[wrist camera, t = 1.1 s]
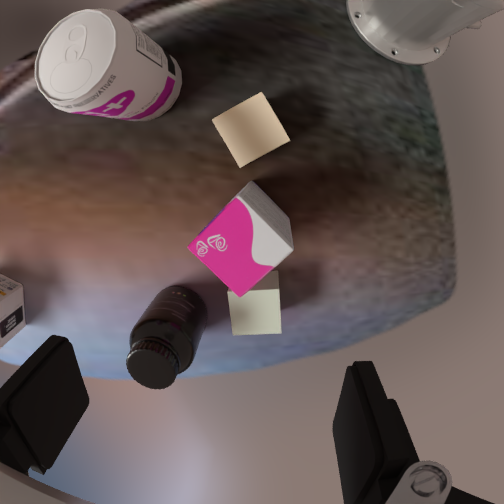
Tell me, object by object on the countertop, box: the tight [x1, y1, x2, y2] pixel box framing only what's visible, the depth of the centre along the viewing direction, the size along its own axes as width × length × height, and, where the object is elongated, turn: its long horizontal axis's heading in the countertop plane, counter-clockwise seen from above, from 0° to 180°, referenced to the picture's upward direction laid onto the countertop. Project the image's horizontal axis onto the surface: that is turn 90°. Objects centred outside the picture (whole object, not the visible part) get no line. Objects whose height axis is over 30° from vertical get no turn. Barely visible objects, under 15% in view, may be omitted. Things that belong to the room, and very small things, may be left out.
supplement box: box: [188, 181, 294, 297], centre depth 29 cm, size 6×6×12 cm
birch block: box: [212, 92, 290, 168], centre depth 29 cm, size 5×5×5 cm
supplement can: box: [35, 8, 182, 121], centre depth 23 cm, size 8×8×15 cm
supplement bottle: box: [126, 286, 207, 389], centre depth 32 cm, size 7×7×12 cm
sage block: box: [227, 271, 281, 335], centre depth 35 cm, size 5×5×5 cm
